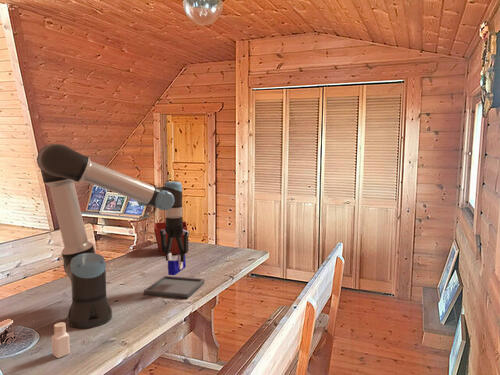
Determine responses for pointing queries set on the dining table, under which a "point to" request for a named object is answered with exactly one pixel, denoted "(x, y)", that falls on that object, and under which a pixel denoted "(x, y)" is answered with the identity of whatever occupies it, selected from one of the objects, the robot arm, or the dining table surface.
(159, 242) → the plant pot
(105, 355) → the dining table surface
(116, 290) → the dining table surface
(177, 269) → the cable clip
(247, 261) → the dining table surface
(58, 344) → the salt shaker
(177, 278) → the tray
